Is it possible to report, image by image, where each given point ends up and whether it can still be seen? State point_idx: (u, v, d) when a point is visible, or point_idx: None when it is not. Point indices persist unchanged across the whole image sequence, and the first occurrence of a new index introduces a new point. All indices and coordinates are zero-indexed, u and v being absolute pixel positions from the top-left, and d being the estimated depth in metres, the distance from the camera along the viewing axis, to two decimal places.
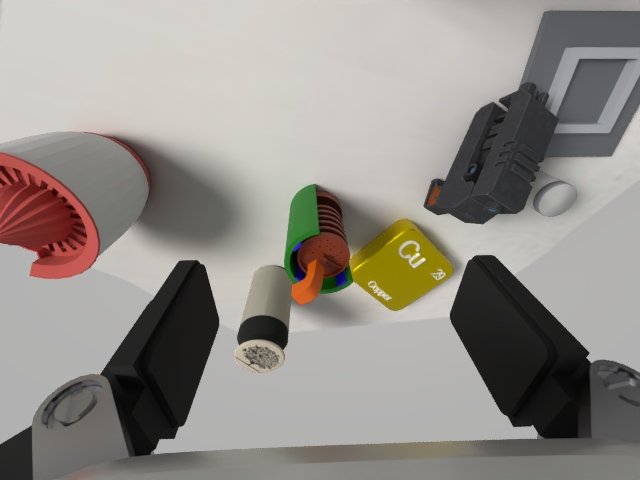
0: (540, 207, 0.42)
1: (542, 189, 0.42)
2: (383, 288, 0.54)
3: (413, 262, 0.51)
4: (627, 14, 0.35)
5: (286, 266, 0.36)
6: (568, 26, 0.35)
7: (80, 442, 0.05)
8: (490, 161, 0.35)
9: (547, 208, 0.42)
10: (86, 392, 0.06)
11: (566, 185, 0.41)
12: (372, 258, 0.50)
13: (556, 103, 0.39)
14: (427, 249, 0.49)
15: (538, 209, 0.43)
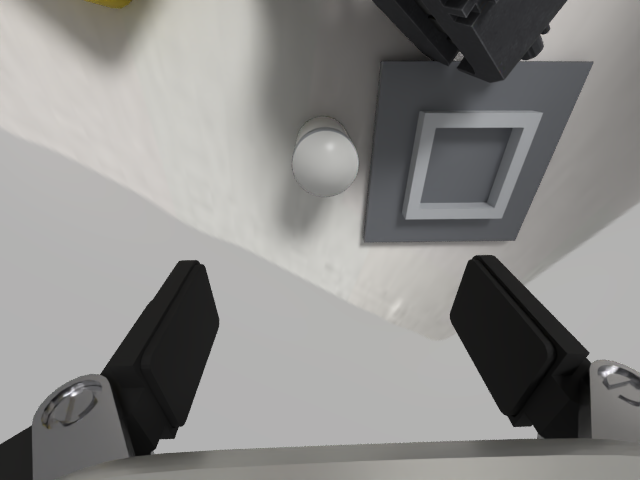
0: (311, 136, 0.21)
1: (343, 133, 0.22)
2: None
3: None
4: (540, 176, 0.29)
5: None
6: (559, 101, 0.25)
7: (80, 442, 0.05)
8: None
9: (310, 152, 0.21)
10: (86, 392, 0.06)
11: (356, 167, 0.22)
12: None
13: (468, 120, 0.25)
14: None
15: (306, 136, 0.21)
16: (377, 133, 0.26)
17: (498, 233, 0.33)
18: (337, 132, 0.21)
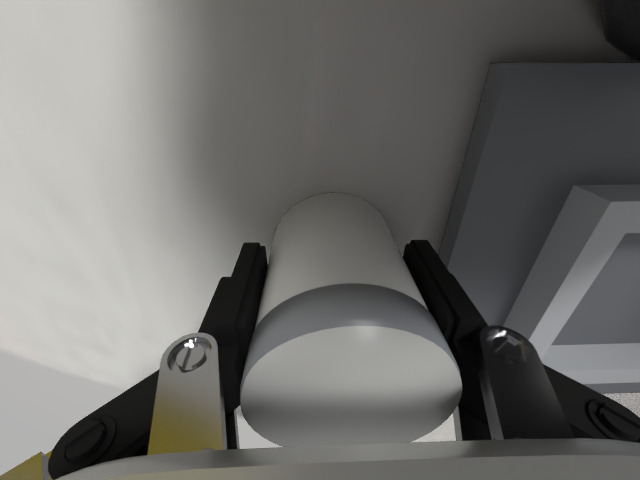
0: (305, 347, 0.06)
1: (412, 304, 0.06)
2: None
3: None
4: None
5: None
6: None
7: (189, 391, 0.06)
8: None
9: (299, 382, 0.06)
10: (200, 348, 0.07)
11: (450, 406, 0.07)
12: None
13: None
14: None
15: (283, 339, 0.06)
16: (461, 232, 0.11)
17: None
18: (400, 326, 0.06)
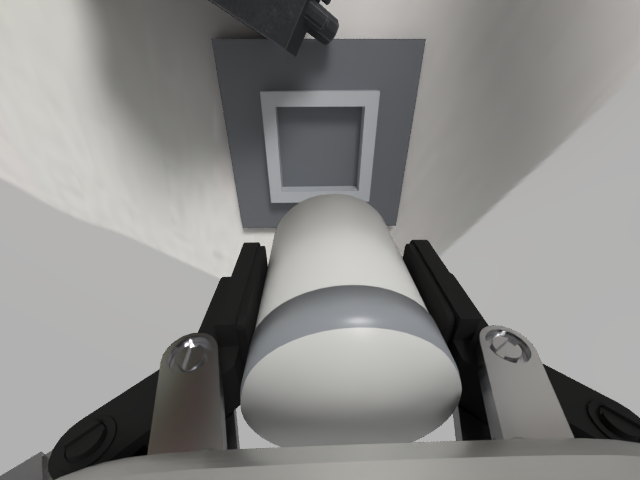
0: (305, 348, 0.06)
1: (411, 306, 0.06)
2: None
3: None
4: (403, 158, 0.29)
5: None
6: (402, 80, 0.25)
7: (189, 391, 0.06)
8: None
9: (299, 384, 0.06)
10: (200, 348, 0.07)
11: (450, 407, 0.07)
12: None
13: (306, 99, 0.24)
14: None
15: (283, 341, 0.06)
16: (225, 114, 0.26)
17: None
18: (400, 328, 0.06)
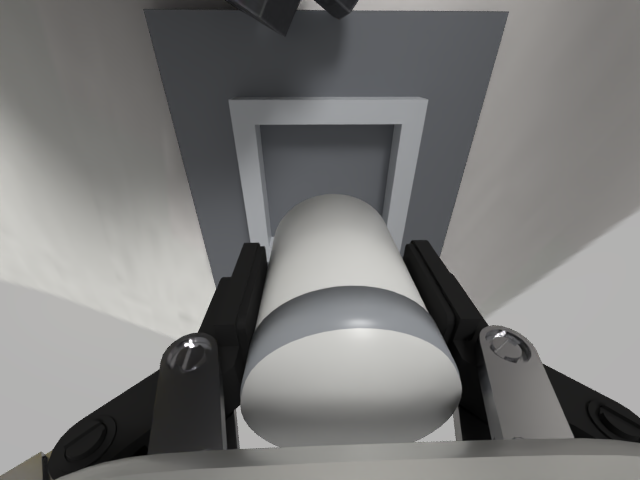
0: (305, 349, 0.06)
1: (411, 307, 0.06)
2: None
3: None
4: (451, 198, 0.19)
5: None
6: (462, 81, 0.16)
7: (189, 391, 0.06)
8: None
9: (299, 384, 0.06)
10: (200, 348, 0.07)
11: (450, 408, 0.07)
12: None
13: (305, 112, 0.15)
14: None
15: (283, 341, 0.06)
16: (178, 134, 0.17)
17: None
18: (400, 329, 0.06)
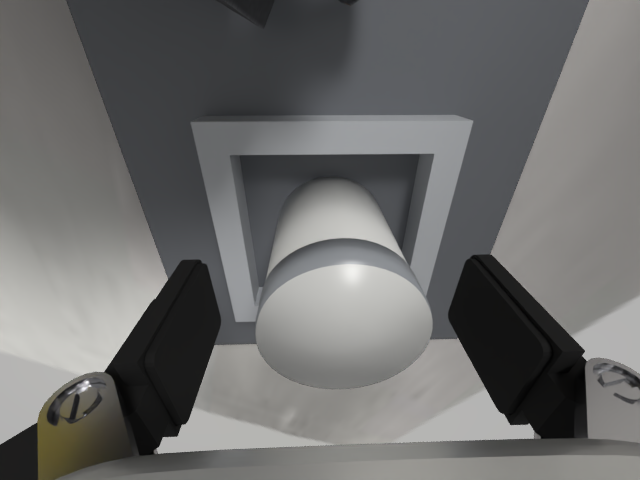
0: (307, 280, 0.07)
1: (392, 255, 0.08)
2: None
3: None
4: (489, 241, 0.15)
5: None
6: (515, 95, 0.11)
7: (85, 439, 0.05)
8: None
9: (302, 313, 0.08)
10: (91, 390, 0.06)
11: (425, 339, 0.08)
12: None
13: (300, 138, 0.11)
14: None
15: (290, 276, 0.07)
16: (130, 164, 0.12)
17: None
18: (381, 266, 0.07)
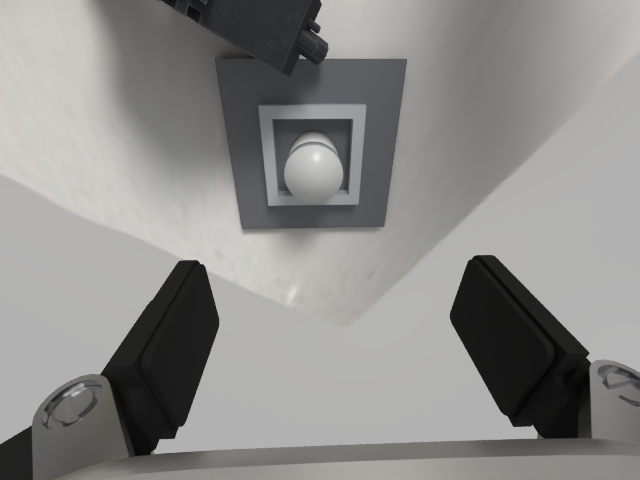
0: (301, 150, 0.24)
1: (329, 147, 0.25)
2: None
3: None
4: (389, 165, 0.32)
5: None
6: (387, 95, 0.28)
7: (80, 442, 0.05)
8: None
9: (300, 163, 0.24)
10: (86, 392, 0.06)
11: (341, 177, 0.25)
12: None
13: (300, 112, 0.27)
14: None
15: (296, 149, 0.24)
16: (227, 125, 0.29)
17: (366, 219, 0.35)
18: (324, 146, 0.24)
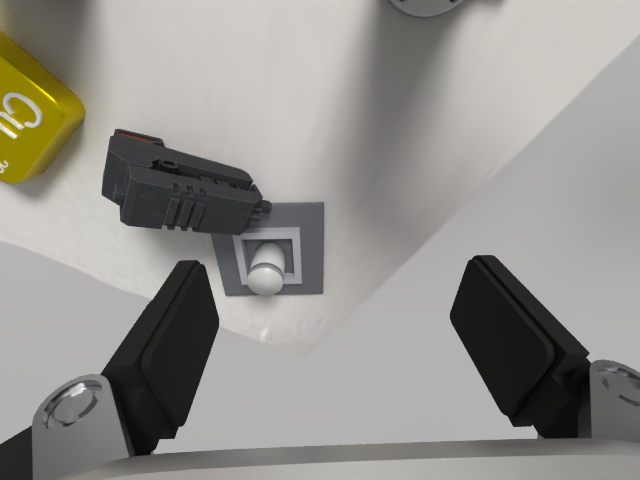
0: (256, 270, 0.40)
1: (274, 266, 0.41)
2: None
3: (2, 120, 0.32)
4: (321, 259, 0.48)
5: None
6: (314, 222, 0.44)
7: (80, 442, 0.05)
8: (180, 179, 0.30)
9: (256, 277, 0.40)
10: (86, 392, 0.06)
11: (281, 283, 0.41)
12: None
13: (258, 235, 0.43)
14: (35, 141, 0.34)
15: (254, 269, 0.40)
16: (213, 239, 0.45)
17: (310, 289, 0.51)
18: (270, 268, 0.40)
